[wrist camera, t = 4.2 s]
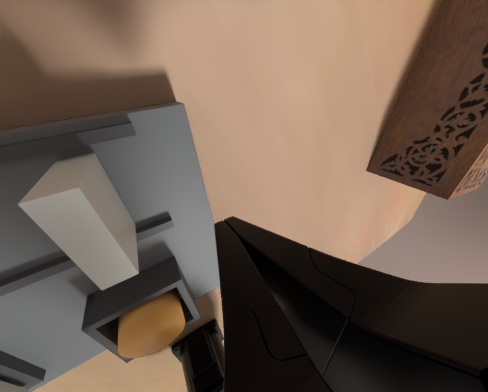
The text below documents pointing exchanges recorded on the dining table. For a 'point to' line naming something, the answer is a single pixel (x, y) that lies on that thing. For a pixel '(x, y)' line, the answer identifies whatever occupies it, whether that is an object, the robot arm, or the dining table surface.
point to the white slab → (11, 387)
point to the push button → (150, 326)
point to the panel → (61, 265)
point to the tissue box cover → (442, 108)
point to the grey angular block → (85, 219)
